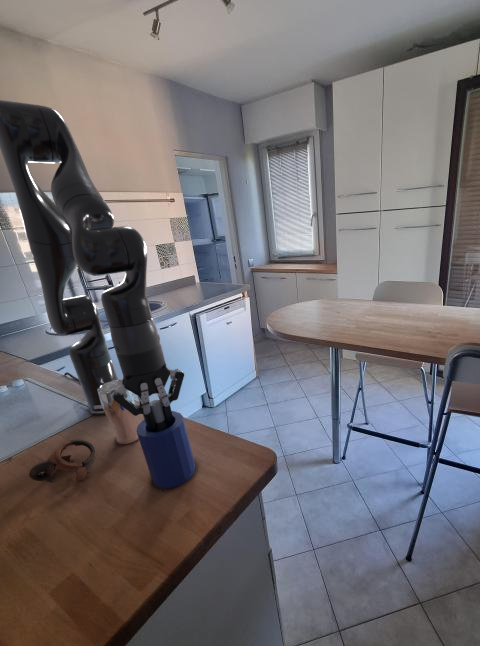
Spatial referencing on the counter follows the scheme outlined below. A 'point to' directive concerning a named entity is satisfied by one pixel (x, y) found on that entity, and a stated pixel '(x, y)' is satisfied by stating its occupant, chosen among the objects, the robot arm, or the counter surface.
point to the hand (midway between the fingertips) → (160, 423)
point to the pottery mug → (64, 463)
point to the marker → (158, 415)
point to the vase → (167, 452)
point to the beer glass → (118, 412)
